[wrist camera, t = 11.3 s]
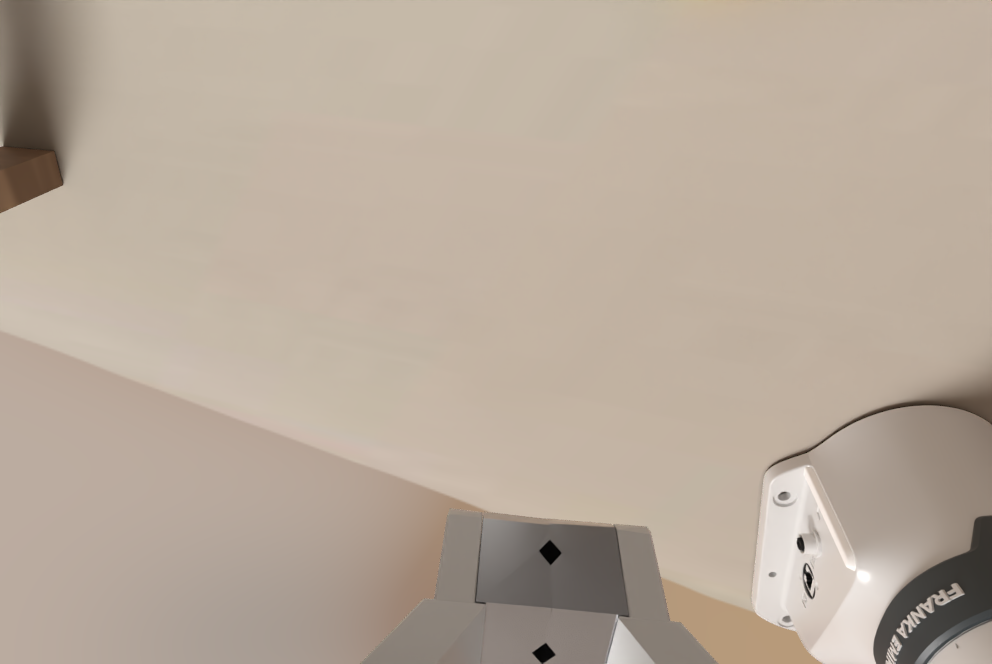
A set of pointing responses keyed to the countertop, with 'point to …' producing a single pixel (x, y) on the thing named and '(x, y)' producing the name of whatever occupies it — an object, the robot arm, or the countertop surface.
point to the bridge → (26, 175)
